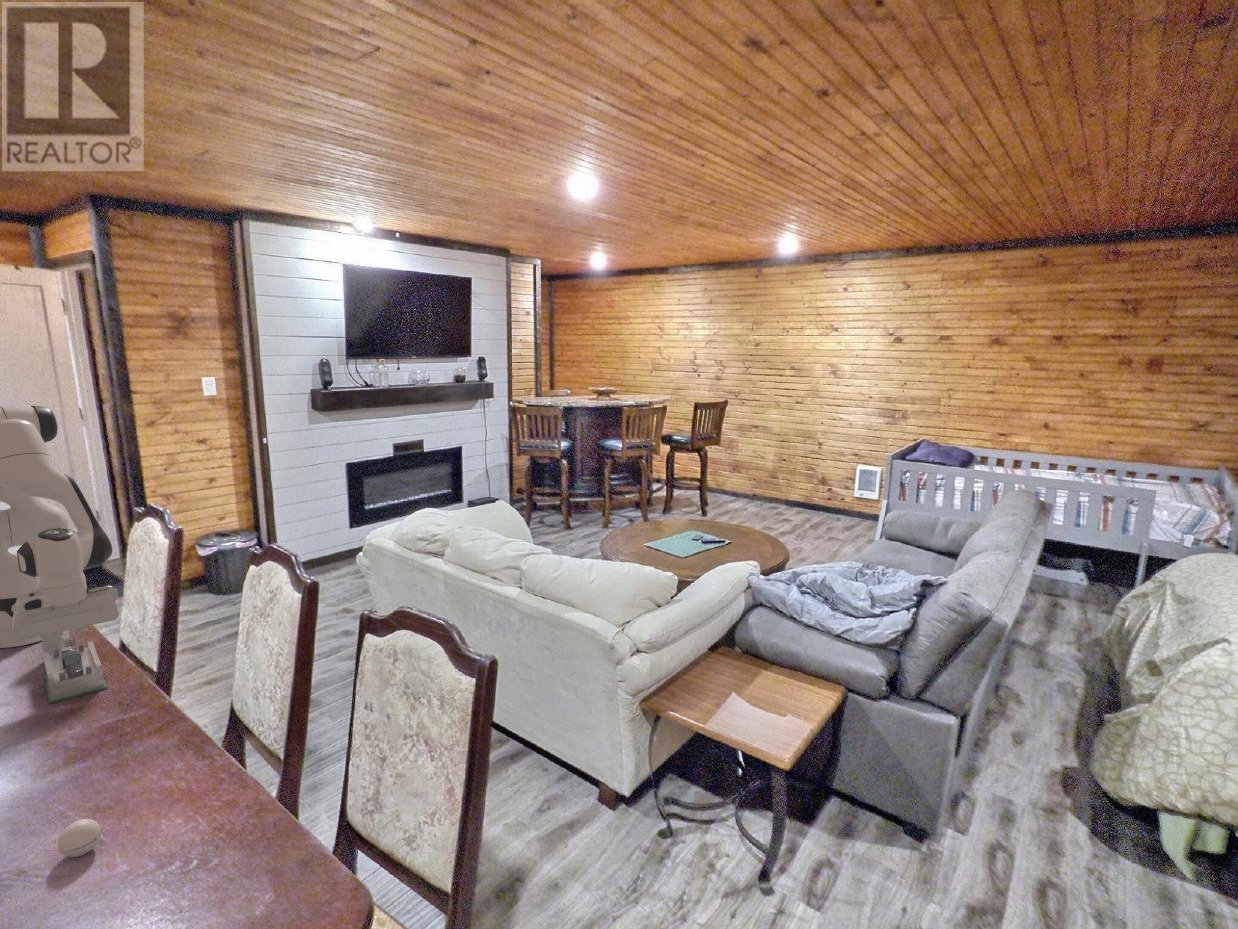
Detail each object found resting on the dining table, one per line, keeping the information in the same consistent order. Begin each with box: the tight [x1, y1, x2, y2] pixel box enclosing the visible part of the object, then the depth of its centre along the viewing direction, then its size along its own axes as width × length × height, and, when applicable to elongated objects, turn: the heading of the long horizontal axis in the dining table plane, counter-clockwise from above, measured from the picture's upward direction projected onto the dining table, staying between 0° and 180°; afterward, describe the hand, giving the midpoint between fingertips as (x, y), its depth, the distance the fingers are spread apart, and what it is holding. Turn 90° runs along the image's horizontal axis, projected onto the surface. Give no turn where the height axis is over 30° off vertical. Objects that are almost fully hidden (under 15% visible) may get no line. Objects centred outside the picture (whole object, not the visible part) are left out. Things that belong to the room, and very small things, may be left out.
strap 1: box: [61, 647, 78, 658], centre depth 165 cm, size 8×3×1 cm, turn 45°
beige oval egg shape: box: [57, 818, 117, 858], centre depth 107 cm, size 8×6×6 cm
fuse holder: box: [42, 640, 108, 705], centre depth 162 cm, size 21×11×7 cm, turn 45°
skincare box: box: [41, 630, 72, 656], centre depth 173 cm, size 6×4×12 cm
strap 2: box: [64, 653, 84, 678], centre depth 158 cm, size 8×3×1 cm, turn 45°
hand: (70, 645), depth 159 cm, fingers closed
